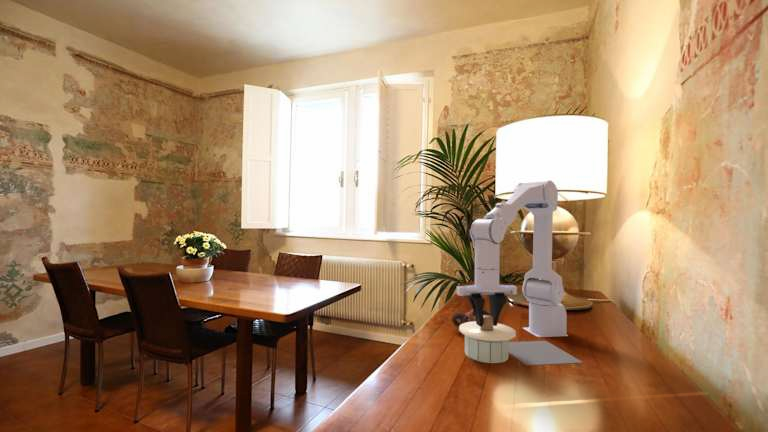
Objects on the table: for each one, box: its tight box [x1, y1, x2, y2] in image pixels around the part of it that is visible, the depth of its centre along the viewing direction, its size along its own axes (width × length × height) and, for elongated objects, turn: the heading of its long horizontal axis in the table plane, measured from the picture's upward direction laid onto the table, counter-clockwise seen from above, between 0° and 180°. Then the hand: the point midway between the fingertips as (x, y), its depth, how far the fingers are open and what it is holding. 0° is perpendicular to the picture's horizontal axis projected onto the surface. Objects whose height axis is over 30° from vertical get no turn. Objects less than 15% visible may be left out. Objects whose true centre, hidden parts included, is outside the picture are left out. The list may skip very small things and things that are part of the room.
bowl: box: [464, 335, 510, 364], centre depth 82 cm, size 10×10×5 cm
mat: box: [509, 340, 584, 366], centre depth 83 cm, size 14×14×1 cm
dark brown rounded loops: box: [451, 308, 490, 329], centre depth 97 cm, size 12×10×8 cm
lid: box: [458, 315, 517, 341], centre depth 82 cm, size 13×13×4 cm
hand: (486, 324), depth 82 cm, fingers closed on lid, 3 cm apart
